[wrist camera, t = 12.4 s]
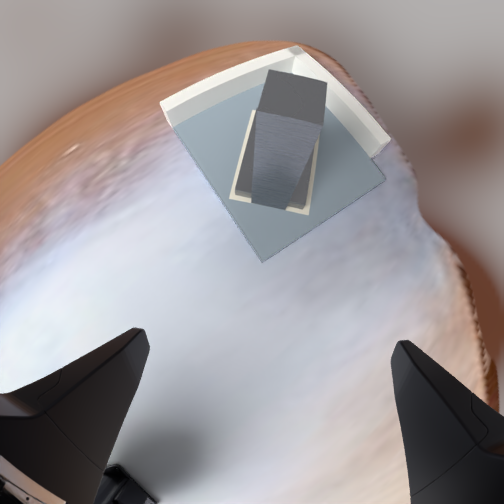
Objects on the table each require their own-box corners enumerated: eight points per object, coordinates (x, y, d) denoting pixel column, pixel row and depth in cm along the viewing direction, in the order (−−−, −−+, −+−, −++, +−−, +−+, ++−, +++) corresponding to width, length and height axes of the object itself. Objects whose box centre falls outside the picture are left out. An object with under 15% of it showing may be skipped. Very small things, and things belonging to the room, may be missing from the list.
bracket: (301, 214, 22) (354, 135, 10) (234, 199, 22) (223, 106, 10) (314, 127, 23) (353, 30, 12) (256, 115, 24) (262, 10, 12)
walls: (244, 236, 22) (244, 227, 19) (167, 120, 24) (159, 102, 21) (378, 154, 24) (391, 139, 21) (293, 63, 25) (297, 45, 22)
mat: (262, 262, 22) (262, 262, 21) (173, 129, 24) (172, 127, 23) (384, 180, 23) (386, 179, 23) (291, 74, 25) (291, 72, 25)
